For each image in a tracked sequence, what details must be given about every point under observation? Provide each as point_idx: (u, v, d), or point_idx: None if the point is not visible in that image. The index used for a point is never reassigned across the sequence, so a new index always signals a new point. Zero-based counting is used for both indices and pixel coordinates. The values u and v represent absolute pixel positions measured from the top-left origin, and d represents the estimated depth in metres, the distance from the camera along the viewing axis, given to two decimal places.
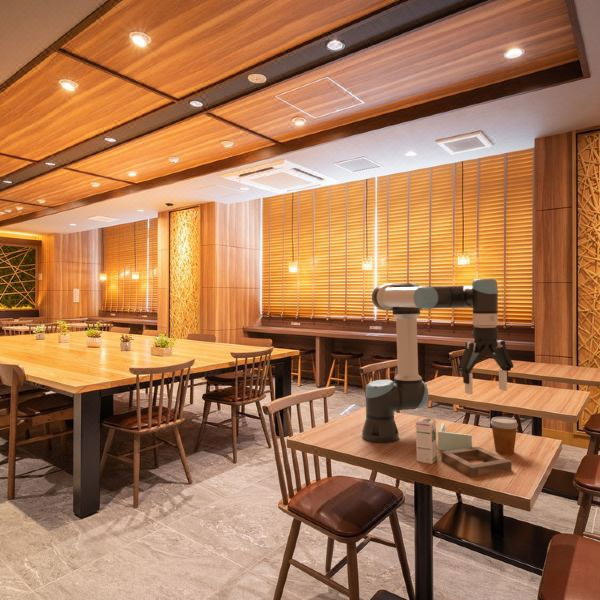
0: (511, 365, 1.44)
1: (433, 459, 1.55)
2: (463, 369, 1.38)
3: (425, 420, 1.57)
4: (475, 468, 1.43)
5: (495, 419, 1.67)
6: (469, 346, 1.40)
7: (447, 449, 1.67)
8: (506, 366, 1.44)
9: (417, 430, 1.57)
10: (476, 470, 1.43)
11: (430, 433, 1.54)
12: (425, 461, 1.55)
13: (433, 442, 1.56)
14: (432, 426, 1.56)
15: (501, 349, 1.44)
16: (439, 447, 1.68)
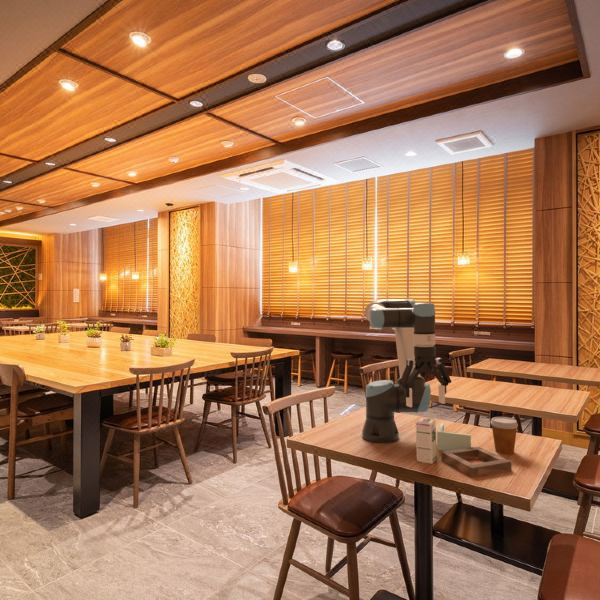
0: (449, 380, 1.59)
1: (433, 459, 1.55)
2: (403, 384, 1.53)
3: (425, 420, 1.57)
4: (475, 468, 1.43)
5: (495, 419, 1.67)
6: (409, 363, 1.55)
7: (446, 449, 1.67)
8: (444, 381, 1.59)
9: (417, 430, 1.57)
10: (476, 470, 1.43)
11: (430, 433, 1.54)
12: (425, 461, 1.55)
13: (433, 442, 1.56)
14: (432, 426, 1.56)
15: (440, 366, 1.59)
16: (438, 447, 1.68)
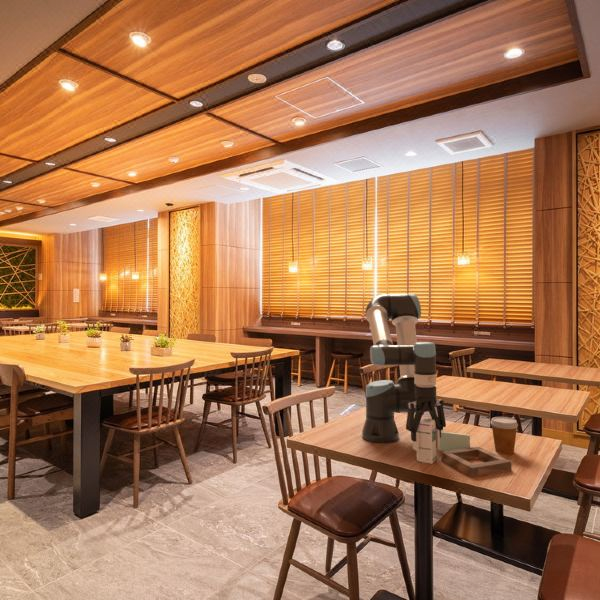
0: (444, 424, 1.59)
1: (433, 459, 1.55)
2: (410, 429, 1.54)
3: (425, 420, 1.57)
4: (475, 468, 1.43)
5: (495, 419, 1.67)
6: (410, 407, 1.55)
7: (445, 449, 1.67)
8: (439, 425, 1.58)
9: (417, 430, 1.57)
10: (476, 470, 1.43)
11: (430, 433, 1.54)
12: (425, 461, 1.55)
13: (433, 442, 1.56)
14: (432, 426, 1.56)
15: (438, 407, 1.59)
16: None
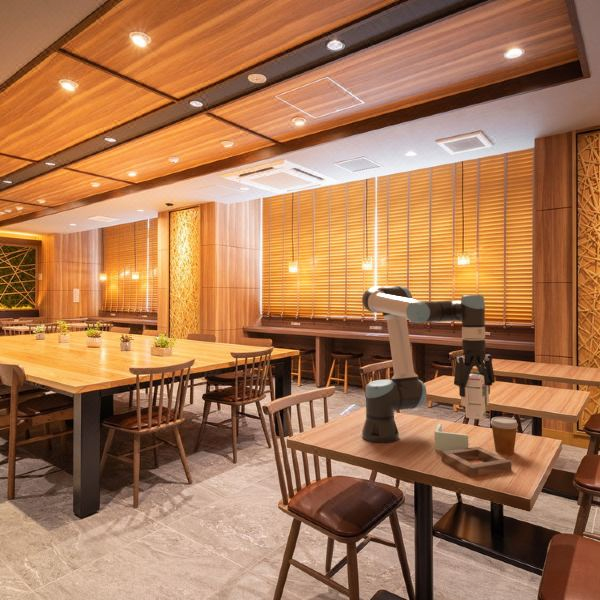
0: (493, 380, 1.53)
1: (483, 415, 1.49)
2: (459, 383, 1.49)
3: (474, 375, 1.52)
4: (475, 468, 1.43)
5: (495, 419, 1.67)
6: (459, 361, 1.49)
7: (444, 449, 1.67)
8: (488, 381, 1.52)
9: (466, 385, 1.51)
10: (476, 470, 1.43)
11: (480, 387, 1.49)
12: (475, 417, 1.49)
13: (483, 397, 1.50)
14: (482, 381, 1.50)
15: (487, 362, 1.53)
16: (436, 447, 1.68)
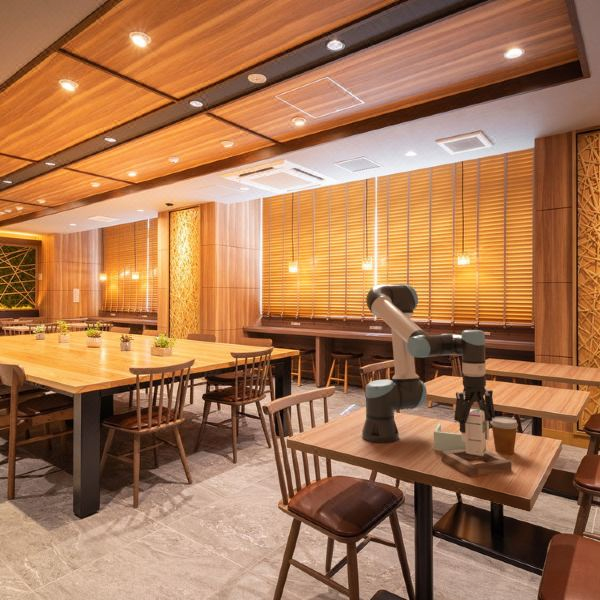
0: (493, 415, 1.53)
1: (483, 451, 1.49)
2: (459, 420, 1.49)
3: (474, 411, 1.52)
4: (475, 468, 1.43)
5: (495, 419, 1.67)
6: (459, 397, 1.50)
7: (443, 449, 1.67)
8: (488, 416, 1.53)
9: (466, 421, 1.51)
10: (476, 470, 1.43)
11: (480, 424, 1.49)
12: (475, 453, 1.50)
13: (483, 433, 1.50)
14: (482, 417, 1.50)
15: (487, 398, 1.54)
16: (435, 447, 1.68)
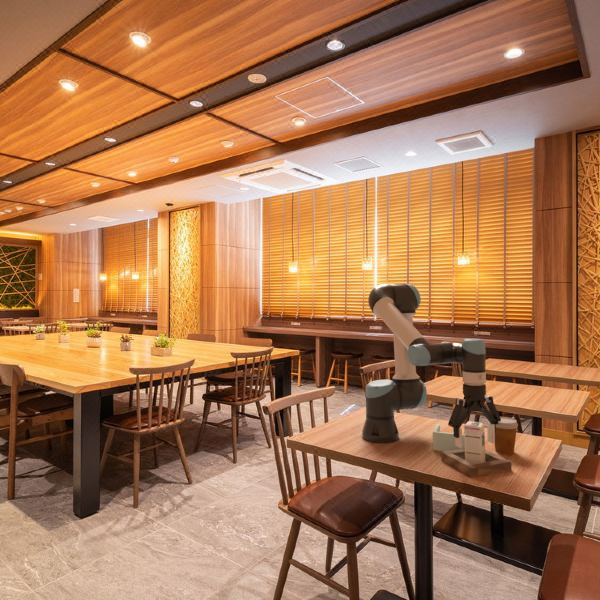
0: (498, 419, 1.54)
1: None
2: (453, 425, 1.48)
3: (474, 424, 1.52)
4: (475, 468, 1.43)
5: None
6: (459, 403, 1.50)
7: (442, 449, 1.67)
8: (494, 420, 1.53)
9: (466, 434, 1.51)
10: (476, 470, 1.43)
11: (480, 437, 1.49)
12: None
13: (483, 447, 1.50)
14: (482, 430, 1.50)
15: (489, 404, 1.54)
16: (434, 447, 1.68)
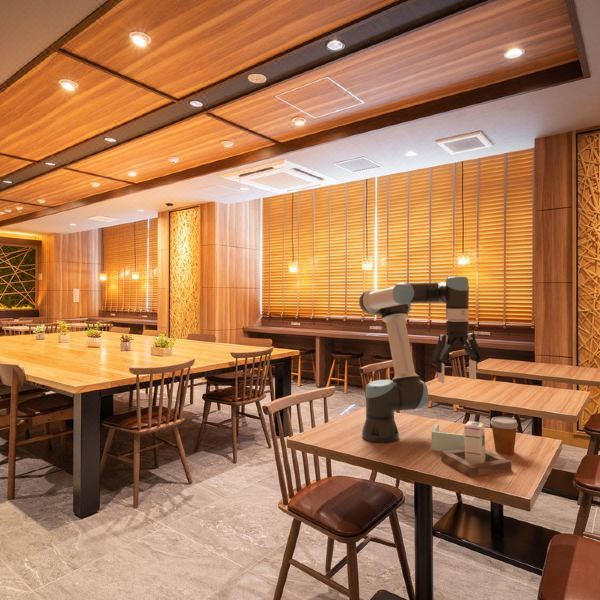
0: (480, 356, 1.57)
1: None
2: (436, 359, 1.51)
3: (474, 424, 1.52)
4: (475, 468, 1.43)
5: (495, 419, 1.67)
6: (442, 338, 1.52)
7: (440, 449, 1.67)
8: (475, 357, 1.56)
9: (466, 434, 1.51)
10: (476, 470, 1.43)
11: (480, 437, 1.49)
12: None
13: (483, 447, 1.50)
14: (482, 430, 1.50)
15: (471, 341, 1.57)
16: (433, 447, 1.68)
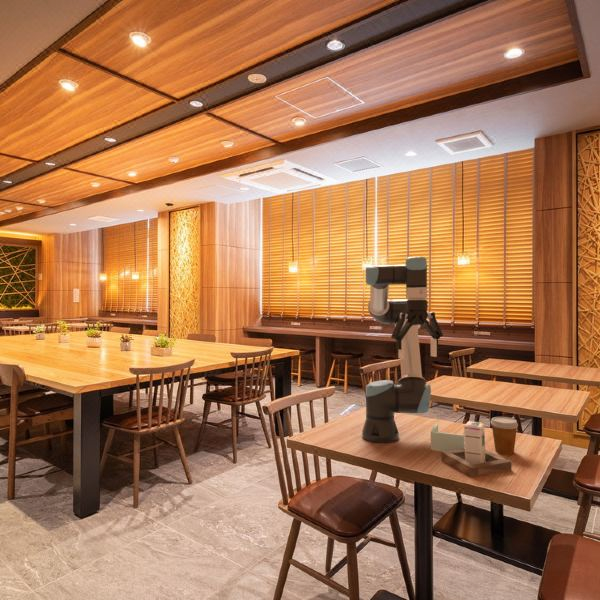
0: (440, 334, 1.62)
1: None
2: (395, 336, 1.56)
3: (474, 424, 1.52)
4: (475, 468, 1.43)
5: (495, 419, 1.67)
6: (401, 316, 1.57)
7: (440, 449, 1.67)
8: (436, 335, 1.61)
9: (466, 434, 1.51)
10: (476, 470, 1.43)
11: (480, 437, 1.49)
12: None
13: (483, 447, 1.50)
14: (482, 430, 1.50)
15: (431, 320, 1.62)
16: (432, 447, 1.68)
